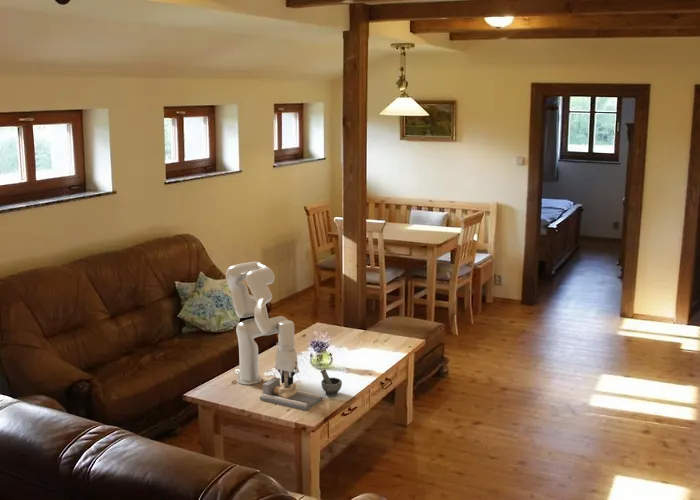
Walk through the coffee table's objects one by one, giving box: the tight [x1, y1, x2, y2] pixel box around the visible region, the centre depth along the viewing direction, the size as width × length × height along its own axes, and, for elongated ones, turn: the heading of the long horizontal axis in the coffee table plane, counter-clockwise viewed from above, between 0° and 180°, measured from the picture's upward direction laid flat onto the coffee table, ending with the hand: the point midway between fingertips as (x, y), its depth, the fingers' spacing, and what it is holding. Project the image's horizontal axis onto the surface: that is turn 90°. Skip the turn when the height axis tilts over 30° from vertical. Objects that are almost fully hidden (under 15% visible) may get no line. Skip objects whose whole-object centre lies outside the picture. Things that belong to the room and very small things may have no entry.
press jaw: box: [279, 371, 297, 399], centre depth 373 cm, size 4×9×16 cm, turn 151°
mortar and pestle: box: [320, 368, 343, 398], centre depth 380 cm, size 11×9×12 cm
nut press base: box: [259, 376, 323, 412], centre depth 374 cm, size 26×14×8 cm, turn 62°
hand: (287, 383), depth 374 cm, fingers closed on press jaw, 3 cm apart
